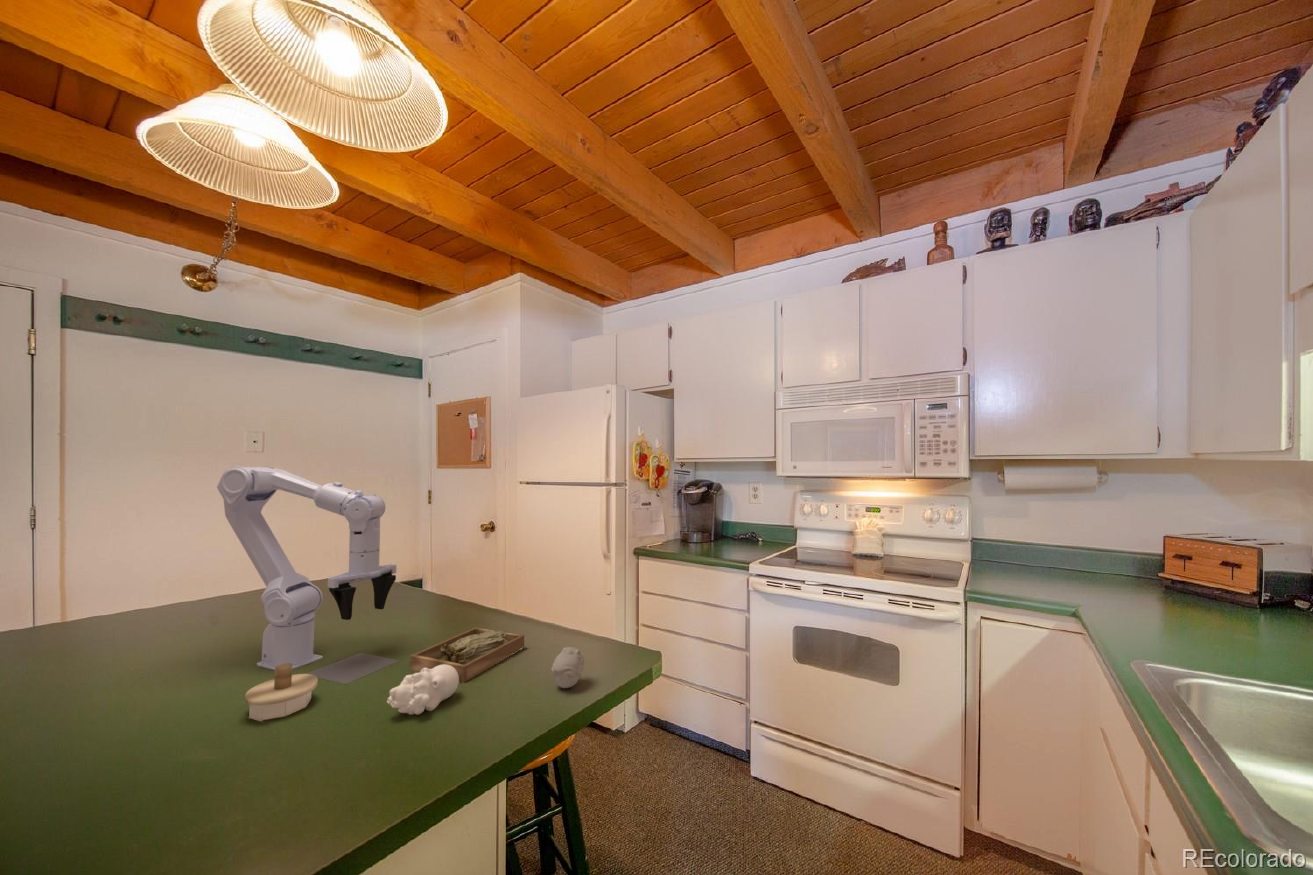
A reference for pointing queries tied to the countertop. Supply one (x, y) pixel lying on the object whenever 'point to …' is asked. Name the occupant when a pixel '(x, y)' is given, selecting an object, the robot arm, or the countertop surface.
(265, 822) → the countertop surface
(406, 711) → the figurine
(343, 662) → the mat
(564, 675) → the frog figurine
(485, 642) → the dried leaf bundle
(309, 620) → the robot arm
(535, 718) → the countertop surface
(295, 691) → the lid
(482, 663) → the frame
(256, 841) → the countertop surface
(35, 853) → the countertop surface
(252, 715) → the bowl
